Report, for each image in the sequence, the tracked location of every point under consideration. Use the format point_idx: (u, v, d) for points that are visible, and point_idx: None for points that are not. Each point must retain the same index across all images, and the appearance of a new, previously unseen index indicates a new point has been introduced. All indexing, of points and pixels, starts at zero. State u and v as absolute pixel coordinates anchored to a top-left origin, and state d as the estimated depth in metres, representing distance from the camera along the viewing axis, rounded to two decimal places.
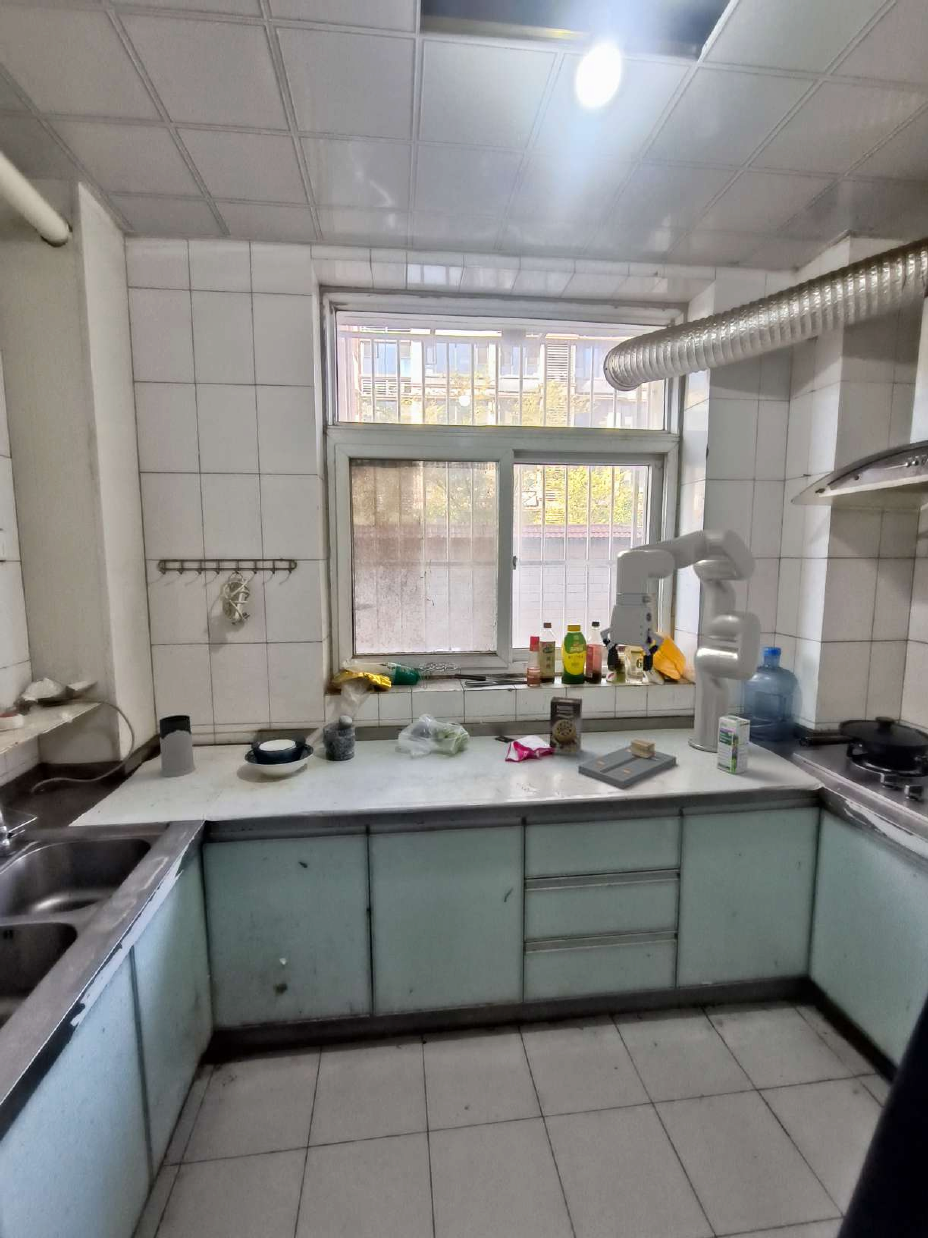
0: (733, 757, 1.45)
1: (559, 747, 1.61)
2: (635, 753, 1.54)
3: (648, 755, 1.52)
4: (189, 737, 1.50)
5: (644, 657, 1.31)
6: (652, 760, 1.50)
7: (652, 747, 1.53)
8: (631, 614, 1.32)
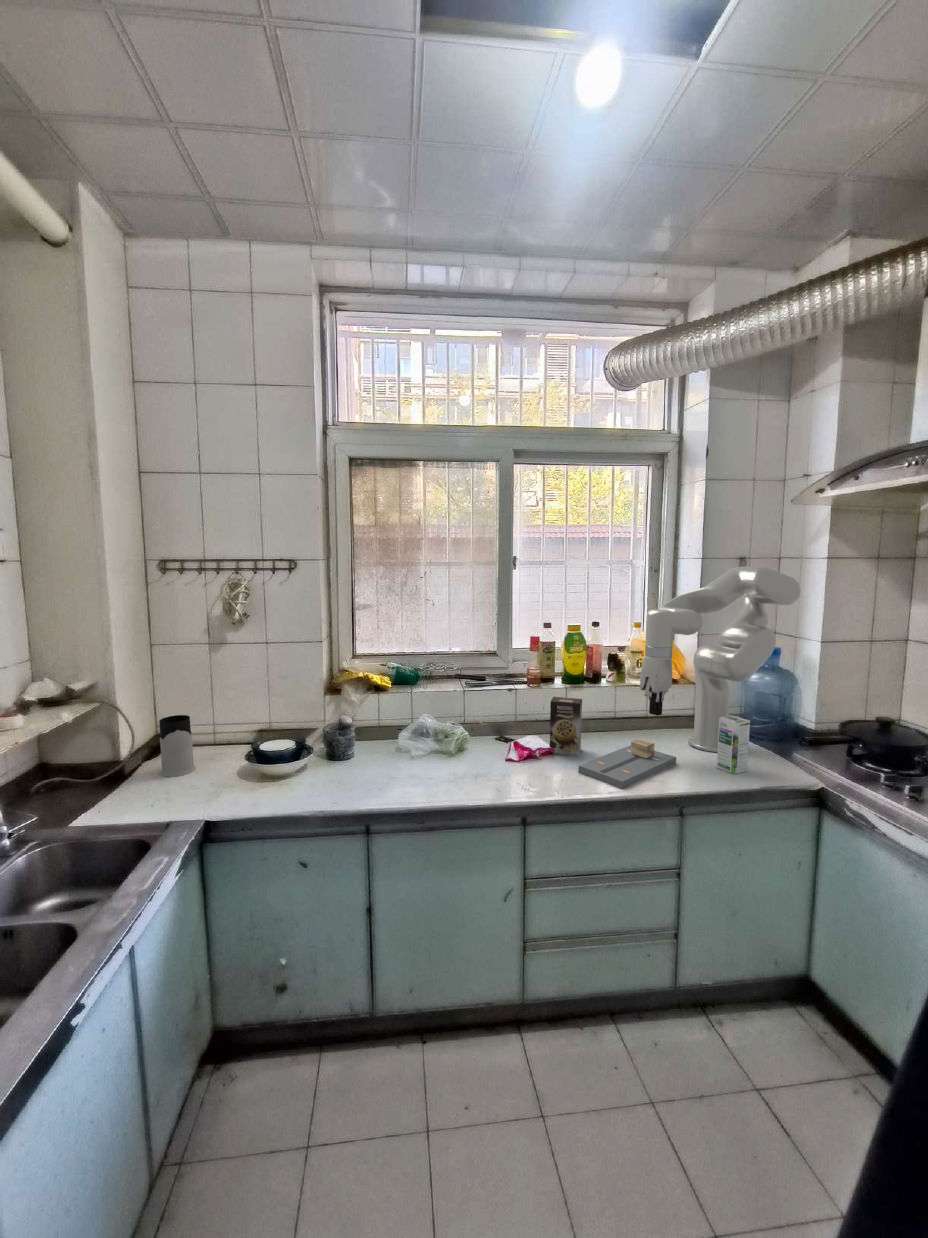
0: (733, 757, 1.45)
1: (559, 747, 1.61)
2: (635, 753, 1.54)
3: (648, 755, 1.52)
4: (189, 737, 1.50)
5: (661, 703, 1.56)
6: (652, 760, 1.50)
7: (652, 747, 1.53)
8: (668, 664, 1.55)
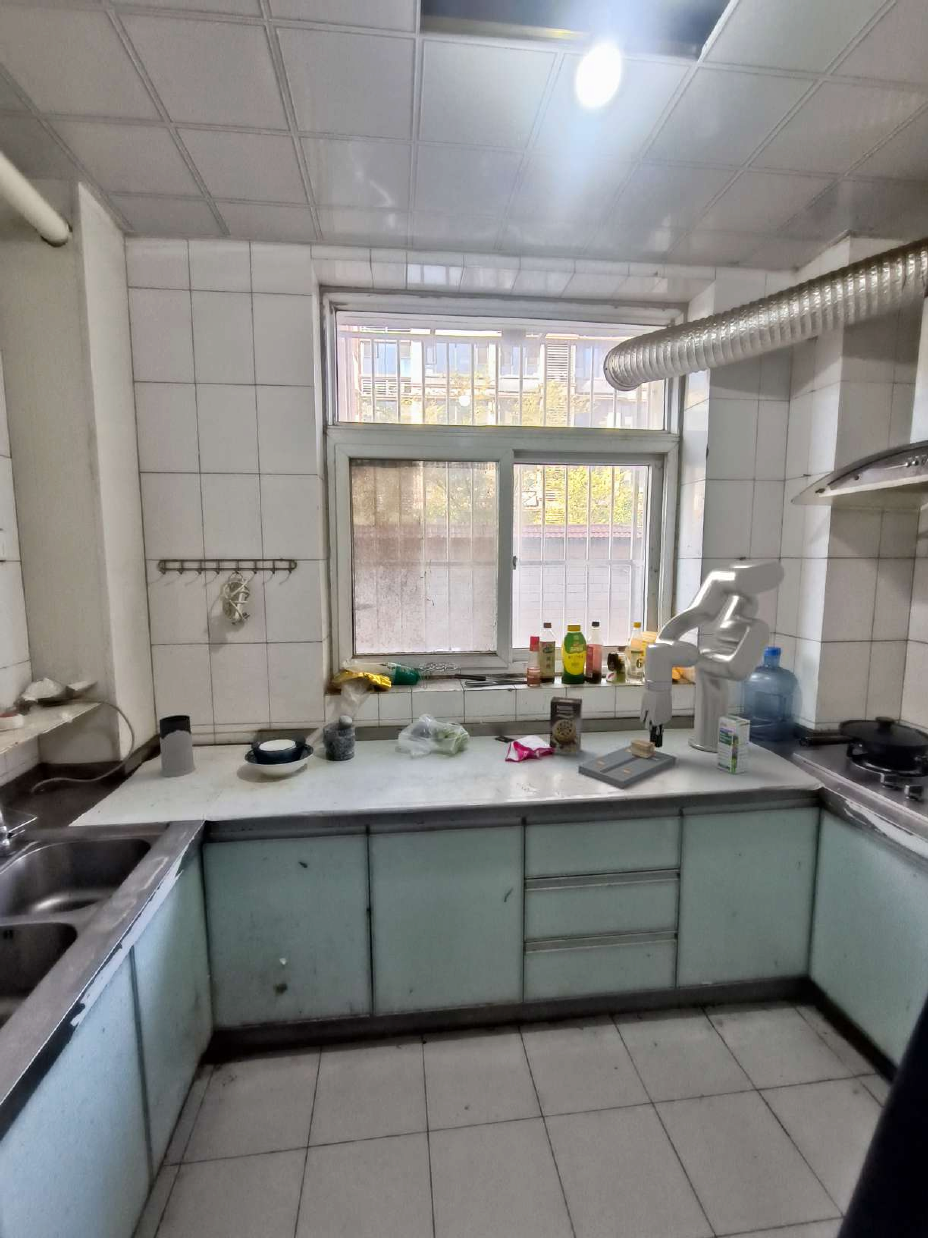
0: (733, 757, 1.45)
1: (559, 747, 1.61)
2: (635, 753, 1.54)
3: (648, 755, 1.52)
4: (189, 737, 1.50)
5: (662, 735, 1.57)
6: (652, 760, 1.50)
7: (652, 747, 1.53)
8: (668, 697, 1.56)
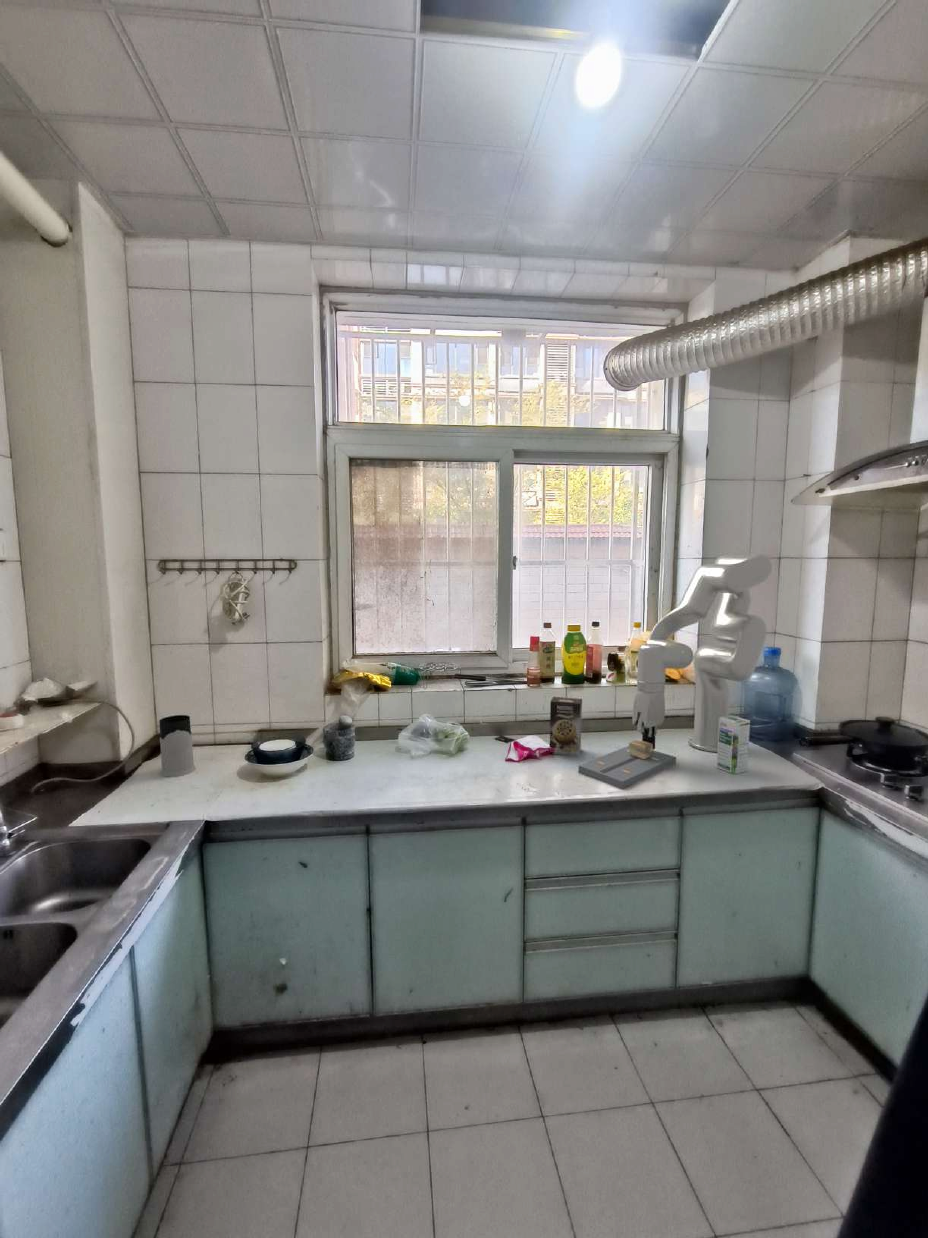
0: (733, 757, 1.45)
1: (559, 747, 1.61)
2: (633, 754, 1.53)
3: (646, 756, 1.51)
4: (189, 737, 1.50)
5: (654, 738, 1.55)
6: (652, 760, 1.50)
7: (650, 748, 1.52)
8: (661, 698, 1.54)
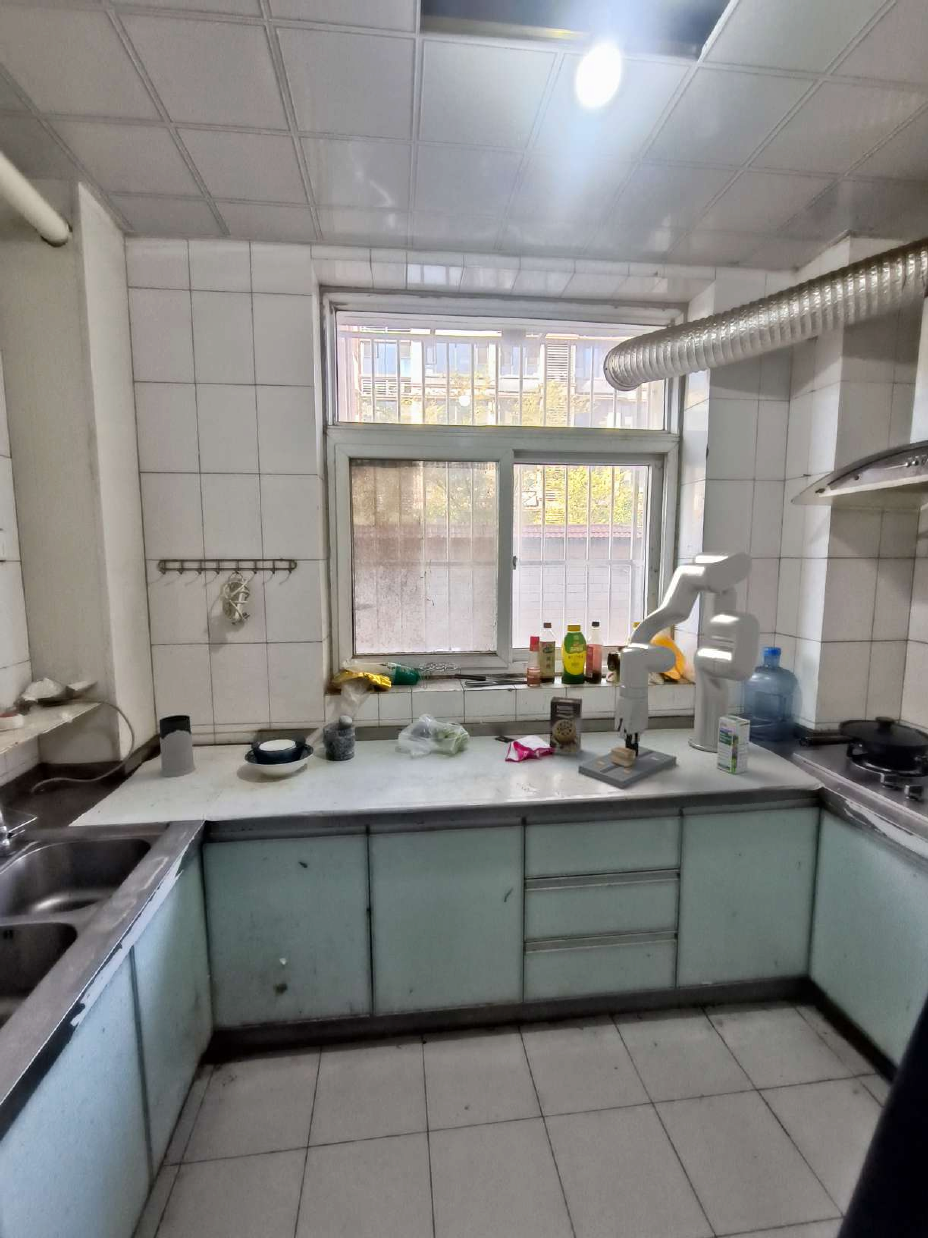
0: (733, 757, 1.45)
1: (559, 747, 1.61)
2: (615, 761, 1.48)
3: (629, 764, 1.46)
4: (189, 737, 1.50)
5: (637, 744, 1.50)
6: (652, 760, 1.50)
7: (633, 755, 1.47)
8: (644, 704, 1.48)
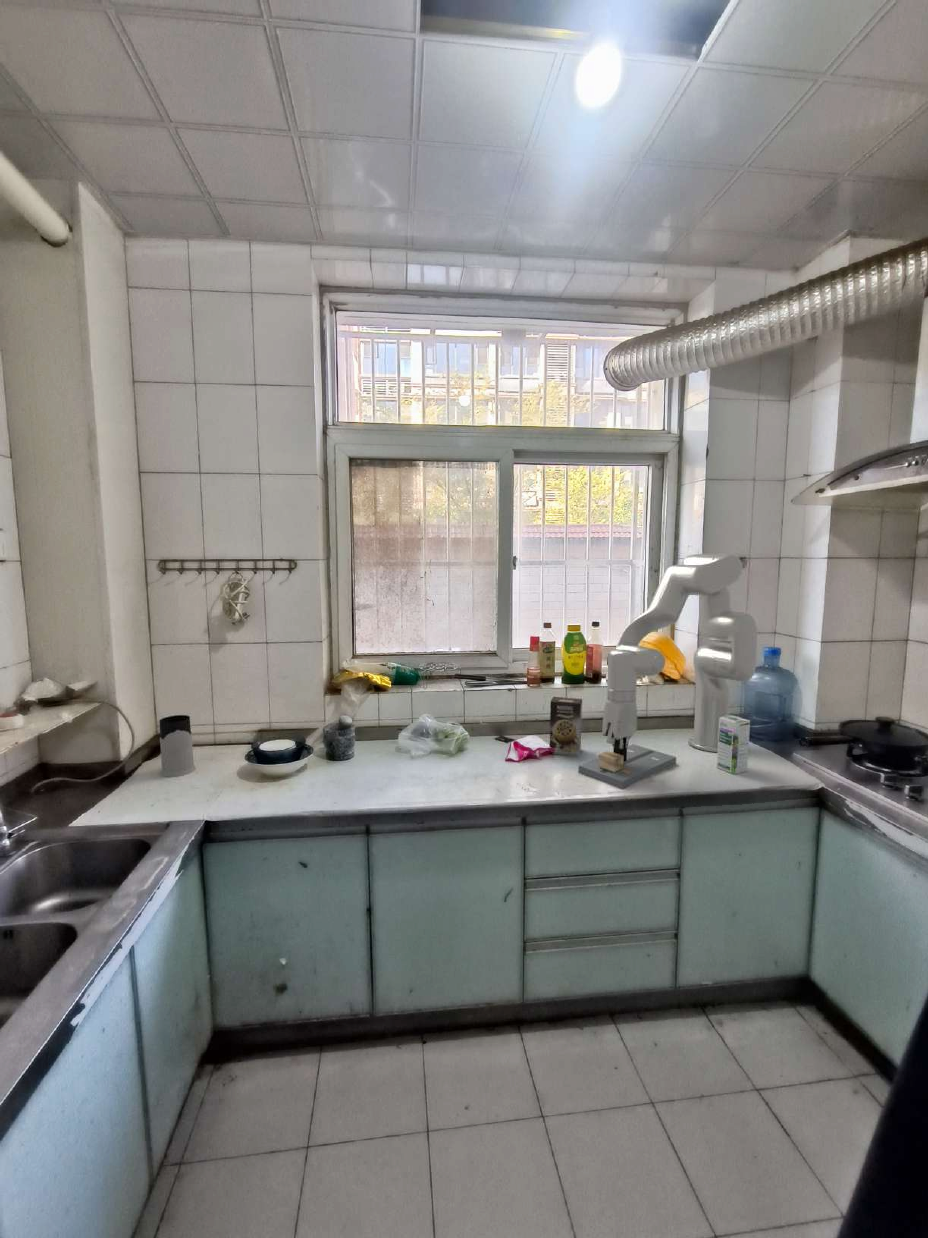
0: (733, 757, 1.45)
1: (559, 747, 1.61)
2: (603, 766, 1.44)
3: (616, 769, 1.42)
4: (189, 737, 1.50)
5: (626, 749, 1.46)
6: (652, 760, 1.50)
7: (621, 760, 1.43)
8: (632, 708, 1.45)
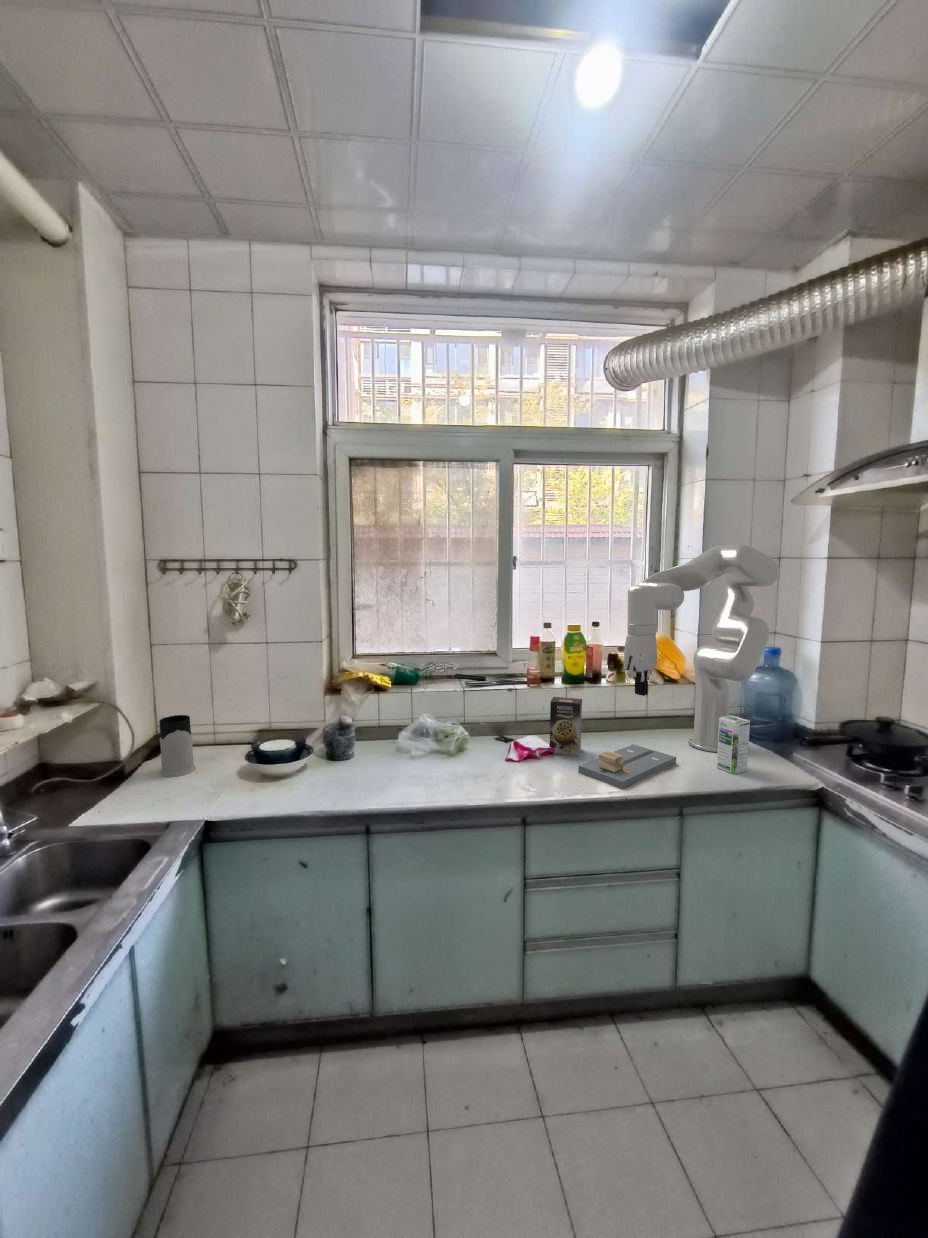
0: (733, 757, 1.45)
1: (559, 747, 1.61)
2: (603, 766, 1.44)
3: (616, 769, 1.42)
4: (189, 737, 1.50)
5: (647, 683, 1.50)
6: (652, 760, 1.50)
7: (621, 760, 1.43)
8: (652, 641, 1.48)
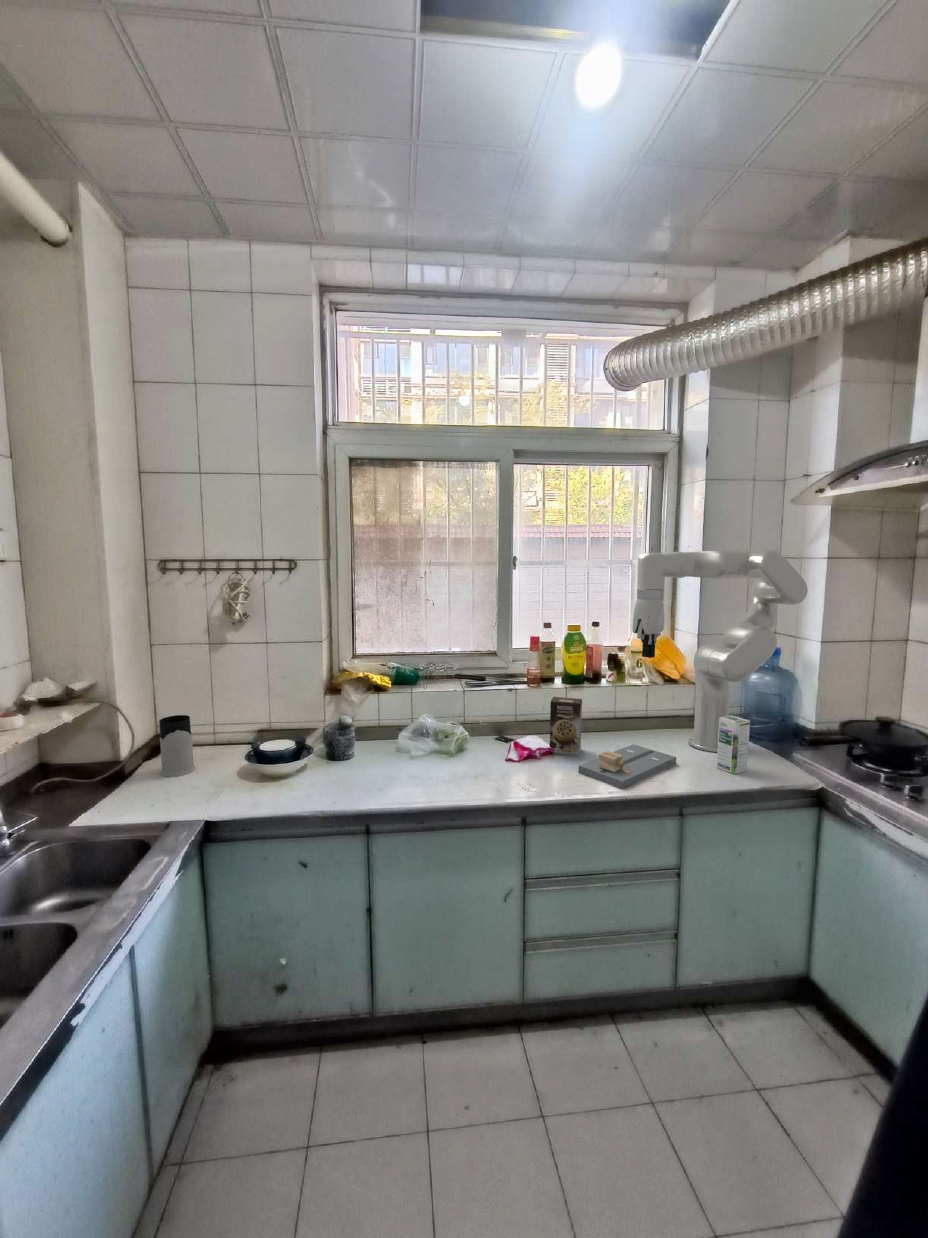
0: (733, 757, 1.45)
1: (559, 747, 1.61)
2: (603, 766, 1.44)
3: (616, 769, 1.42)
4: (189, 737, 1.50)
5: (654, 646, 1.58)
6: (652, 760, 1.50)
7: (621, 760, 1.43)
8: (660, 606, 1.57)
